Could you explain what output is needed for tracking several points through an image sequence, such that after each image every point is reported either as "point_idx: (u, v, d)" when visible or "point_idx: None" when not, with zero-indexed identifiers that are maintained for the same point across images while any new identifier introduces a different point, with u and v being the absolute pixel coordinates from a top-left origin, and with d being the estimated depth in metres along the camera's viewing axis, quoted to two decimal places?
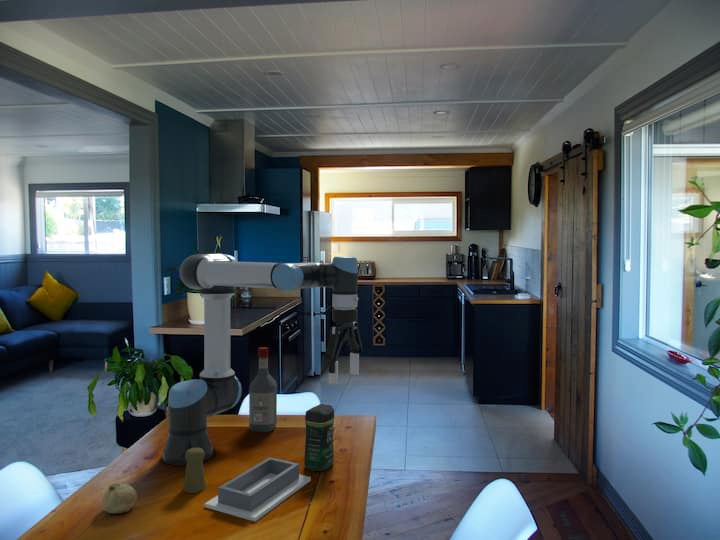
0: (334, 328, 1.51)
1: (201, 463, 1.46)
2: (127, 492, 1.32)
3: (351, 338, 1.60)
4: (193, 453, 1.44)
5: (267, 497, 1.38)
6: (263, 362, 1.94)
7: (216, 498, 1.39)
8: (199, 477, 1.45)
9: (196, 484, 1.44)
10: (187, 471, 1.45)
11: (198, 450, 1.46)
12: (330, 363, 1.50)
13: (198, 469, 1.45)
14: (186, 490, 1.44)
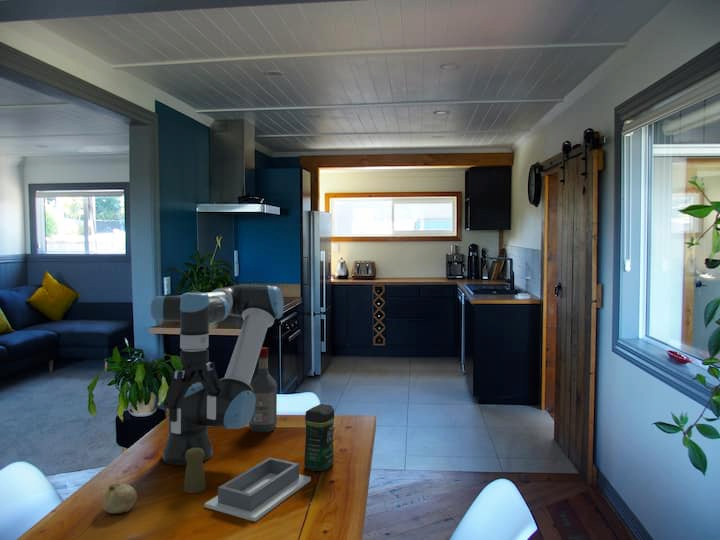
0: (176, 372, 1.39)
1: (201, 463, 1.46)
2: (127, 492, 1.32)
3: (204, 381, 1.48)
4: (193, 453, 1.44)
5: (267, 497, 1.38)
6: (263, 362, 1.94)
7: (216, 498, 1.39)
8: (199, 477, 1.45)
9: (196, 484, 1.44)
10: (187, 471, 1.45)
11: (198, 450, 1.46)
12: (171, 411, 1.38)
13: (198, 469, 1.45)
14: (186, 490, 1.44)
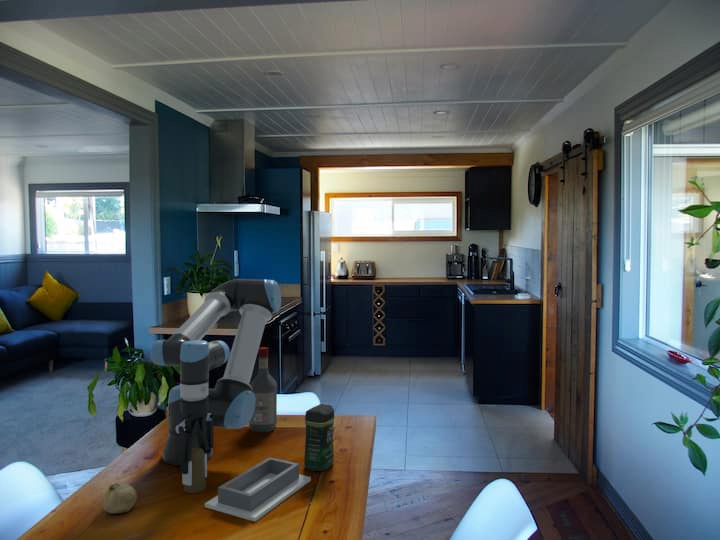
0: (177, 428, 1.40)
1: (201, 463, 1.46)
2: (127, 492, 1.32)
3: (201, 431, 1.47)
4: (193, 453, 1.44)
5: (267, 497, 1.38)
6: (263, 362, 1.94)
7: (216, 498, 1.39)
8: (199, 477, 1.45)
9: (196, 484, 1.44)
10: None
11: (198, 450, 1.46)
12: (182, 463, 1.42)
13: (198, 469, 1.45)
14: (186, 490, 1.44)
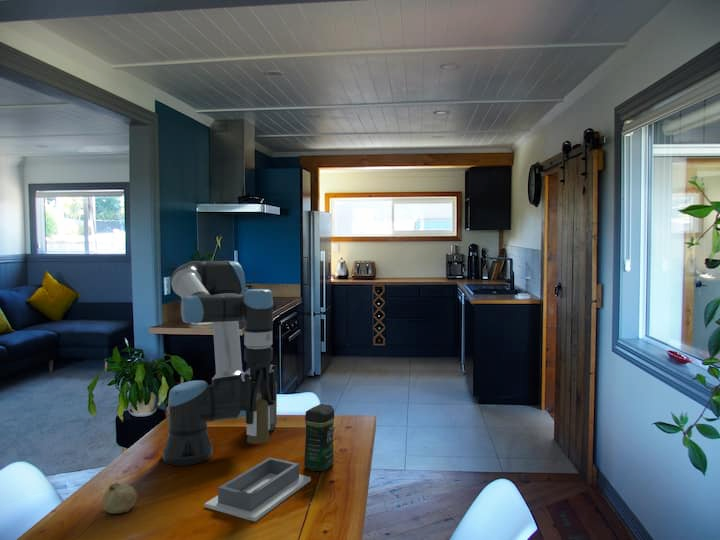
0: (243, 376, 1.37)
1: (265, 414, 1.43)
2: (127, 492, 1.32)
3: (264, 382, 1.44)
4: (257, 403, 1.41)
5: (267, 497, 1.38)
6: None
7: (216, 498, 1.39)
8: (264, 428, 1.41)
9: (260, 434, 1.41)
10: None
11: (262, 400, 1.42)
12: (247, 413, 1.39)
13: (262, 420, 1.41)
14: (250, 441, 1.41)
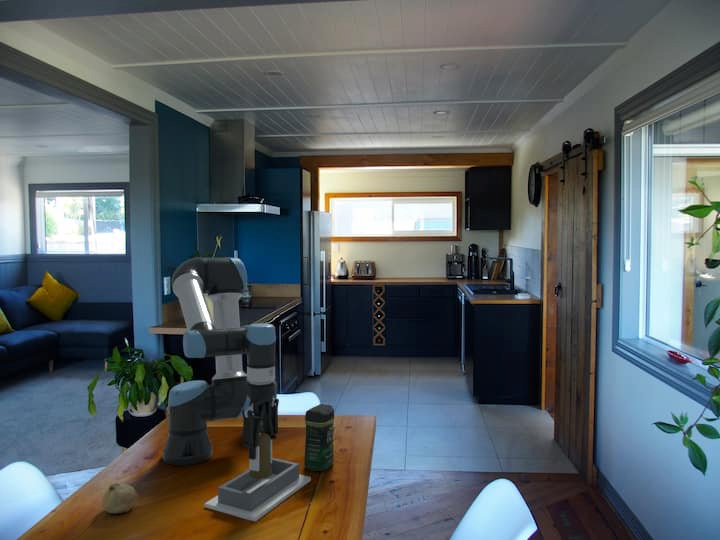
0: (246, 412, 1.37)
1: (268, 448, 1.43)
2: (127, 492, 1.32)
3: (267, 416, 1.44)
4: (260, 438, 1.41)
5: (267, 497, 1.38)
6: None
7: (216, 498, 1.39)
8: (266, 463, 1.42)
9: (263, 469, 1.41)
10: None
11: (264, 435, 1.43)
12: (250, 449, 1.40)
13: (265, 455, 1.42)
14: (253, 476, 1.41)
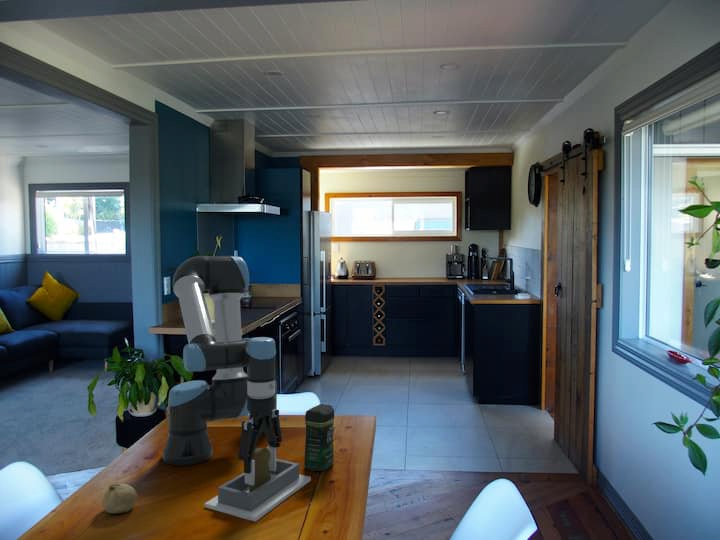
0: (246, 424, 1.37)
1: (267, 464, 1.43)
2: (127, 492, 1.32)
3: (268, 428, 1.45)
4: (260, 453, 1.42)
5: (267, 497, 1.38)
6: None
7: (216, 498, 1.39)
8: (266, 478, 1.42)
9: None
10: None
11: (264, 450, 1.43)
12: (245, 462, 1.38)
13: (265, 470, 1.42)
14: None
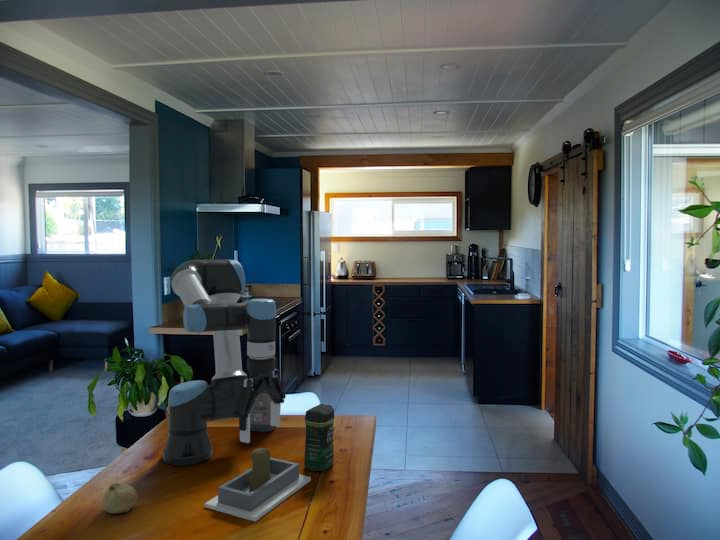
0: (246, 381, 1.37)
1: (267, 464, 1.43)
2: (127, 492, 1.32)
3: (270, 388, 1.46)
4: (260, 453, 1.42)
5: (267, 497, 1.38)
6: None
7: (216, 498, 1.39)
8: (266, 478, 1.42)
9: None
10: (254, 472, 1.42)
11: (264, 450, 1.43)
12: (240, 420, 1.36)
13: (264, 470, 1.42)
14: None
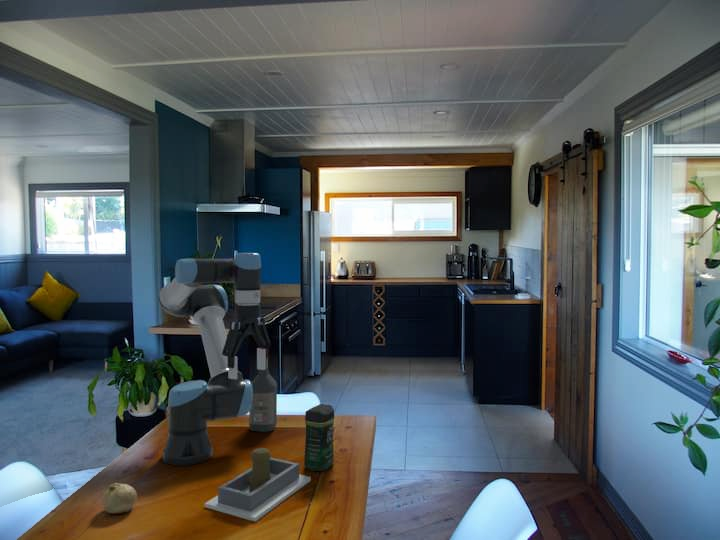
0: (233, 323, 1.53)
1: (267, 464, 1.43)
2: (127, 492, 1.32)
3: (256, 334, 1.62)
4: (260, 453, 1.42)
5: (267, 497, 1.38)
6: None
7: (216, 498, 1.39)
8: (266, 478, 1.42)
9: None
10: (254, 472, 1.42)
11: (264, 450, 1.43)
12: (229, 358, 1.52)
13: (264, 470, 1.42)
14: None
